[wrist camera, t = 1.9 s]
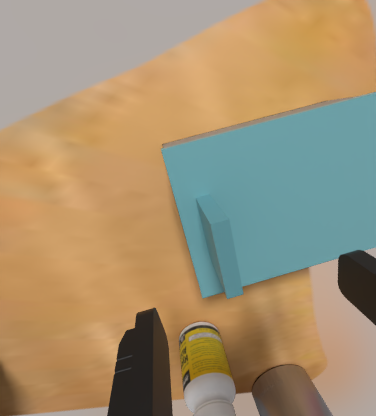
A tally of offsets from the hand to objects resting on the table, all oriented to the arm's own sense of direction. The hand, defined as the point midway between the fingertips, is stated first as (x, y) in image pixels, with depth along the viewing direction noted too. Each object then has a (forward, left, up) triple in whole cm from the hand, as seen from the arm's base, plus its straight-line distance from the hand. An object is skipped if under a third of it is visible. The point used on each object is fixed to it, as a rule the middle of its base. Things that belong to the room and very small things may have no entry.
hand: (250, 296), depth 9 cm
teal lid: (-3, -5, -9) cm, 11 cm away
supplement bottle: (-14, +13, -14) cm, 24 cm away
